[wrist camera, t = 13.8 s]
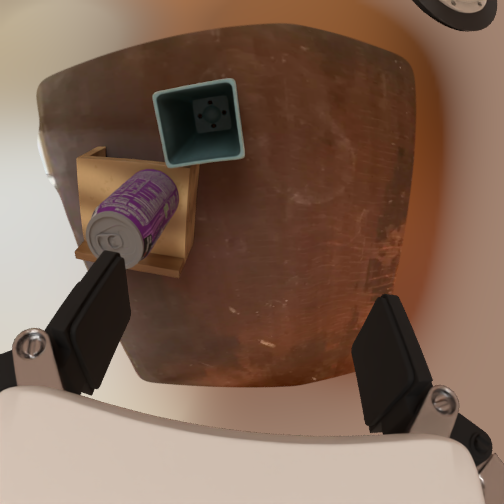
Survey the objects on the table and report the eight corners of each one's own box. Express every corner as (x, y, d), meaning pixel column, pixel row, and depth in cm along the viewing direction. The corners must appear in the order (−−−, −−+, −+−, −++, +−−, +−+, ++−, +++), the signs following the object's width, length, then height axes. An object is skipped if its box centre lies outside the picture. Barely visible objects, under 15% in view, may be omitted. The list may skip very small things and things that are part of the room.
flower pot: (250, 142, 39) (245, 159, 31) (186, 150, 40) (166, 169, 32) (242, 77, 34) (234, 77, 27) (175, 89, 35) (151, 93, 28)
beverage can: (136, 222, 39) (96, 275, 29) (122, 172, 35) (72, 213, 25) (186, 216, 38) (156, 272, 28) (174, 162, 34) (135, 202, 24)
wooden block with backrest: (98, 146, 39) (64, 164, 32) (200, 155, 40) (183, 176, 32) (102, 228, 47) (75, 258, 39) (193, 242, 47) (179, 278, 40)
